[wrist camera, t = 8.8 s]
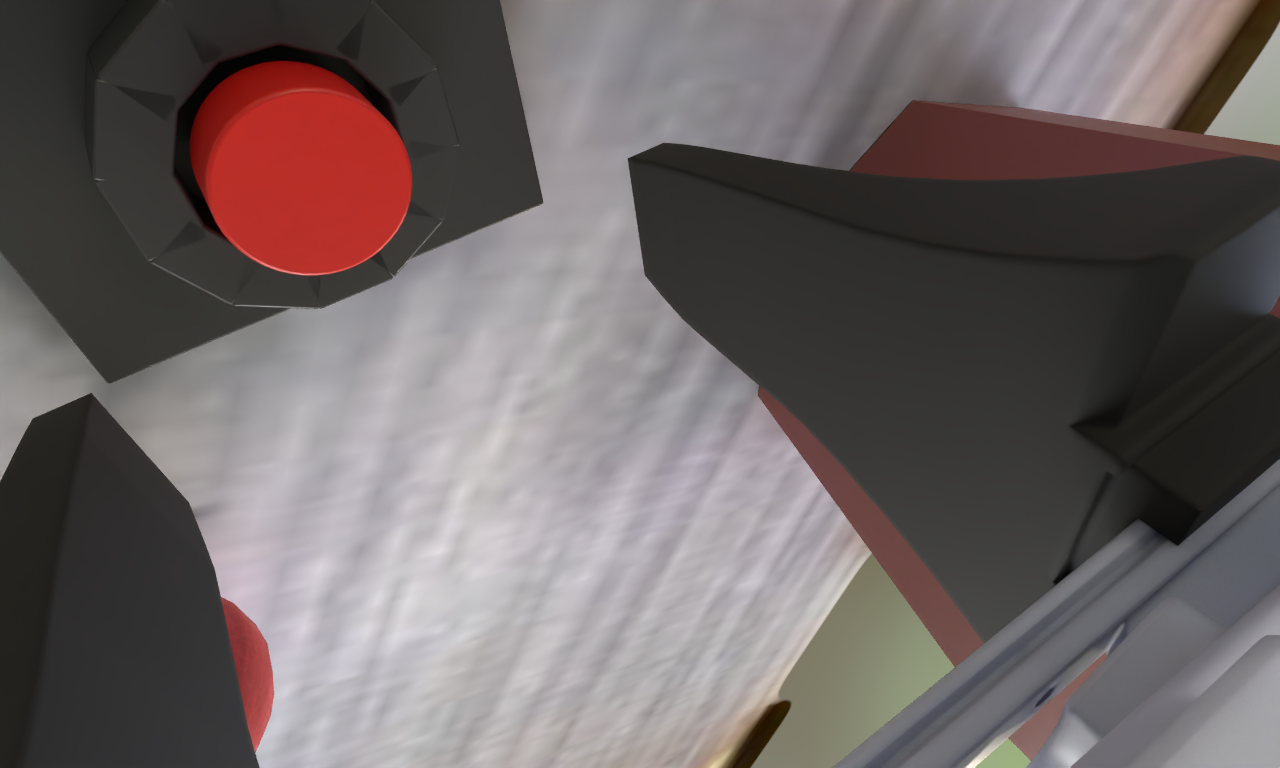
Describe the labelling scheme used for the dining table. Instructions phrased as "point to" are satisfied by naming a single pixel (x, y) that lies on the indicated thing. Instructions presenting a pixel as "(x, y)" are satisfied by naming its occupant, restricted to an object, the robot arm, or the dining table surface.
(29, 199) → the button housing
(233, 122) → the button
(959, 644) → the bucket
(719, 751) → the dining table surface
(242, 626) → the onion
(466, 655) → the dining table surface
